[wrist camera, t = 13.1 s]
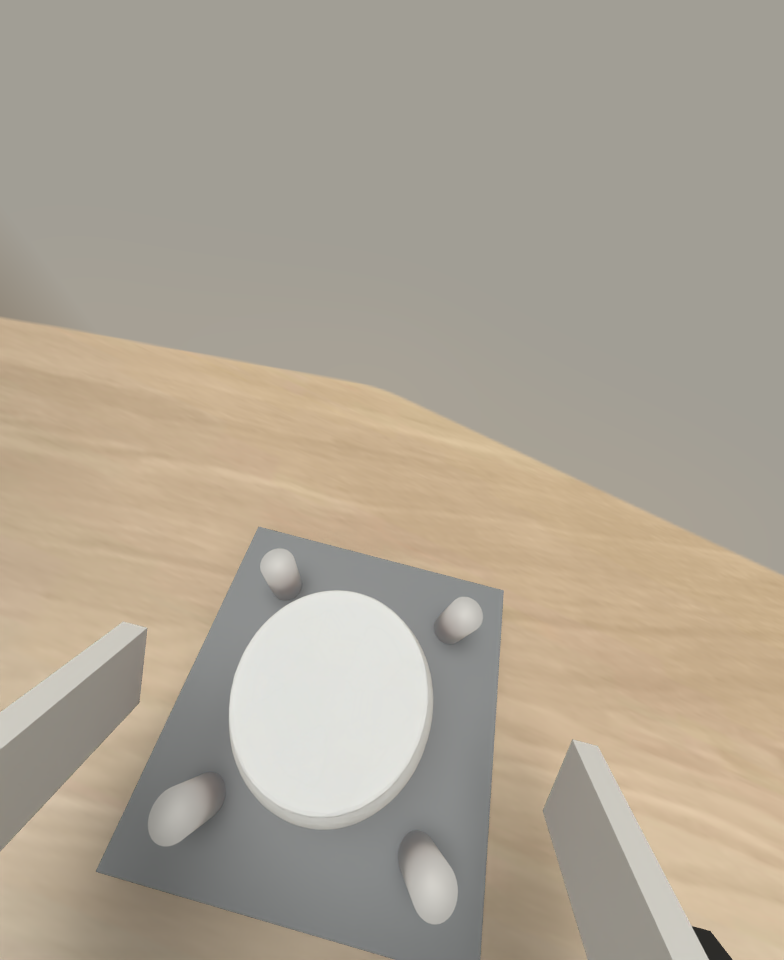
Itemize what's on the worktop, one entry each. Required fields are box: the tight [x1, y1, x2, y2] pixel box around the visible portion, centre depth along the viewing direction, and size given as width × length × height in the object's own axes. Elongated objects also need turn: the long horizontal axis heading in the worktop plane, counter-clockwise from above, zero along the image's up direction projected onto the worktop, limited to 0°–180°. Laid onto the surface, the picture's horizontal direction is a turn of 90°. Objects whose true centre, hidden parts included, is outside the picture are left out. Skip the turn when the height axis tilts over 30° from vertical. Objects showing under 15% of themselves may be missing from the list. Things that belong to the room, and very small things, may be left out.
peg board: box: [96, 527, 504, 960], centre depth 17 cm, size 15×15×5 cm
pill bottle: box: [229, 590, 433, 830], centre depth 13 cm, size 6×6×11 cm
